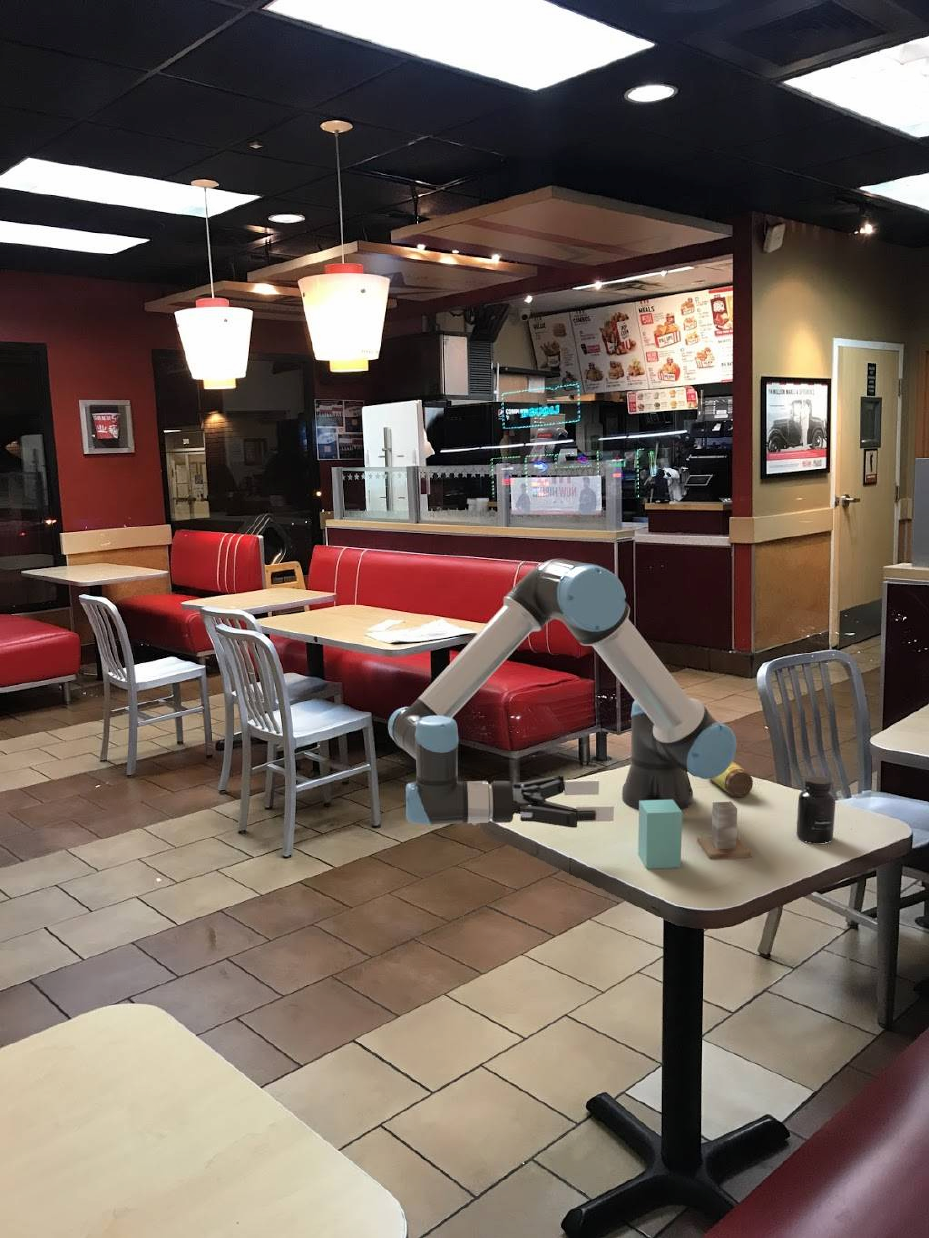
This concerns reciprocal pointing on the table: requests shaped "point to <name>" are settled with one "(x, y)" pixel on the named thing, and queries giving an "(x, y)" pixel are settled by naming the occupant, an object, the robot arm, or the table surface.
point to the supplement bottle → (816, 811)
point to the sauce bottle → (735, 781)
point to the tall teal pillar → (660, 834)
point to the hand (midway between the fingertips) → (605, 799)
